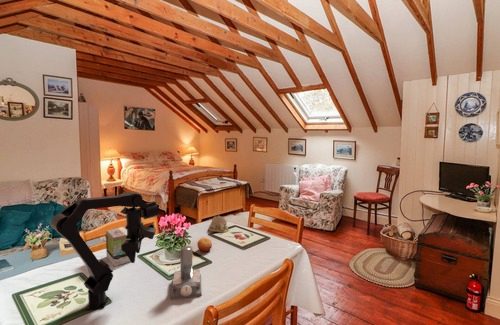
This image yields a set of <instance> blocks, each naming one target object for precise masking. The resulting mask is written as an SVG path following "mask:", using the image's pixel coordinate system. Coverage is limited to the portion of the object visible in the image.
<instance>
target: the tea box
mask: <svg viewBox="0 0 500 325" xmlns="http://www.w3.org/2000/svg"><path fill="white" fill-rule="evenodd" d="M126 235H127V229H125V226H121V227H116V228H112V229H106V230H105V244H106V245H105V247H106V248H105V249H106V257H107V259H108V261H110V263H111V264H112V266H114V267H116V266H120V265H123V264H127V263H131V261H130V259H129V258H128V256H127V255H126V254H125V252H123V251H122V250H121V245H122V244H123V242H124V241H125V240H130V239H126Z"/></svg>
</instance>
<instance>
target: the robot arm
mask: <svg viewBox="0 0 500 325" xmlns="http://www.w3.org/2000/svg"><path fill="white" fill-rule="evenodd" d="M114 207H123V208H122V209H121V210H120V214H123V215H125V217H126V219H125V220H126V225H125V226H124V227H125V229H127V235H126V239H130V240H125V241H124V242H123V244H122V245H121V250H122V251H123V252H125V254H126V255H127V256H128V258H129V259H130V261H131V262H130V263H131V264H135V262H136V256H137V254H139V253H140V251H141V247H142V243H143V242H142V241H143V240H144V238H147V239H149V240H153V239H154V237H155V234H156V232H157V228H156V226H155V224H153V223H150V224H149V225H144V222H143V221H142V219H144V220H148V219H151V218H155V217H158V216H159V215H160V209H159V206H158V204H157V202H156V201H153V200H152V201H150V202H147V203H146V202H145V201H144V199H143V196H142V194H140V193H137V192H134V191H126V192H122V193H120V194H117V195H110V196H98V197H88V198H85V197H84V198H83V197H80V198H78V199H77V200H76V201H75V202H73V203H72V204H71V205H69V206H67V207H66V208H64V209H63V210H62V211H61V212H60V213H58V214H56V215H54V216H52V218H51V220H50V226H51V229H53V230H55V231H56V233H58V234H59V235H61V237H63V238H64V239H65V240H67V242H68V244H70V246H71V248H72V249H73V250H74V251H75V252H76V254H77V255H78V257H79V258H80V259H81V261H82V262H83V263H84V265H85V266H86V268H87V273H88V274H89V275H88V277H87V278H86V280H85V282H84V283H83V285H84V287H85V288H86V289H87V295H88V296H87V297H88V298H87V300H88V303H87V304H86V306H85V308H84V310H85V311H90V310H99V309H104V308H105V307H106V305H107V304H108V301H109V299H110V297H109V296H107V297H106V292H107V291H108V290H109V287H110V284H111V282H112V281H113V279H114V274H113V272H114V270H113V269H111V267H110V265H109V263H107V262H106V261H105V260H103V259H100V260H98V258H97V257H96V255H95V254H94V252H93V251H92V250H91V249H90V247H89V245H88V244H87V242H86V241H85V240H84V238H83V237H82V236H81V234H80V229H79V226H78V223H79V222H80V221H81V220H82V218H83V217H84V215H85V214H86V213H87V211H89V210H95V209H105V208H106V209H107V208H114Z"/></svg>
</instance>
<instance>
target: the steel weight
mask: <svg viewBox="0 0 500 325" xmlns="http://www.w3.org/2000/svg"><path fill="white" fill-rule="evenodd" d="M179 250H180V251H179V252H180V255H179V258H180V263H179V264H180V271H181V279H190V278H192V270H193V247H192V246H189V245H186V246H182V247H181V248H180V249H179Z"/></svg>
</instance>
